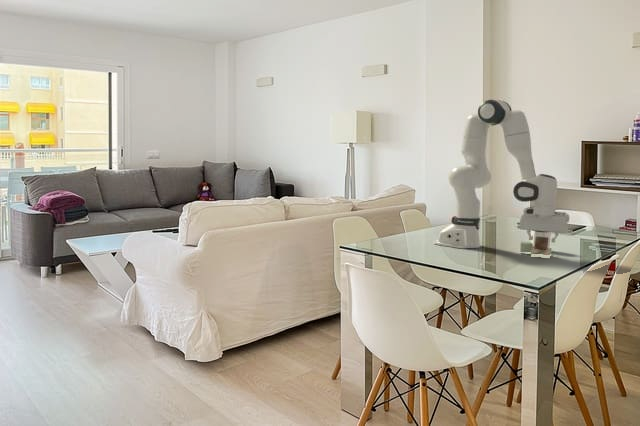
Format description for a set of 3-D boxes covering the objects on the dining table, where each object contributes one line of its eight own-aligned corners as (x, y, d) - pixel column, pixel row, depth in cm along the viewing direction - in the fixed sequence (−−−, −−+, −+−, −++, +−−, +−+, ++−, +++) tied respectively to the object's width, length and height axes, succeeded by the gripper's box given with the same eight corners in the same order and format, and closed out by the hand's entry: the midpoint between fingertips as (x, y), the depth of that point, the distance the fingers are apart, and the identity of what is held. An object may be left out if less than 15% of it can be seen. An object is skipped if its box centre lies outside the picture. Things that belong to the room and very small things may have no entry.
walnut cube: (534, 248, 248) (535, 237, 248) (535, 247, 253) (536, 236, 252) (546, 250, 246) (547, 239, 245) (547, 248, 250) (548, 237, 250)
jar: (527, 250, 264) (530, 225, 262) (530, 247, 271) (532, 223, 269) (547, 252, 259) (550, 227, 258) (550, 250, 266) (552, 225, 265)
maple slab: (530, 257, 248) (531, 249, 247) (532, 254, 255) (532, 246, 255) (549, 260, 245) (550, 251, 244) (550, 256, 252) (551, 248, 251)
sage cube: (520, 254, 255) (521, 243, 254) (518, 251, 259) (519, 241, 259) (531, 254, 254) (532, 244, 253) (530, 252, 258) (530, 242, 258)
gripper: (570, 212, 245) (567, 242, 247) (521, 208, 254) (519, 237, 256) (569, 213, 240) (566, 244, 242) (520, 209, 249) (517, 239, 251)
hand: (541, 241), depth 249 cm, fingers open, 8 cm apart
